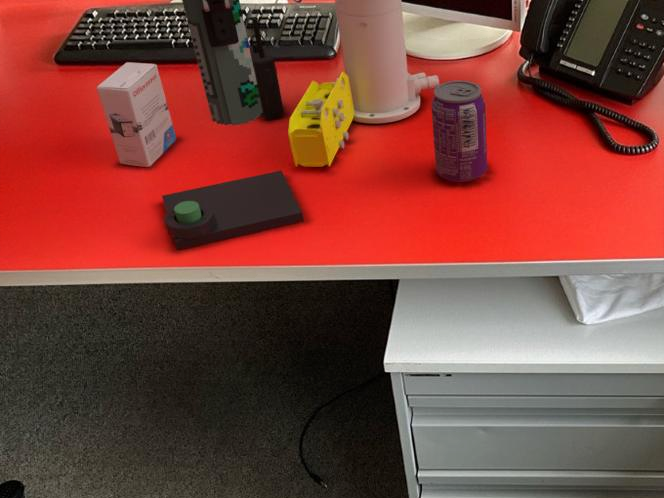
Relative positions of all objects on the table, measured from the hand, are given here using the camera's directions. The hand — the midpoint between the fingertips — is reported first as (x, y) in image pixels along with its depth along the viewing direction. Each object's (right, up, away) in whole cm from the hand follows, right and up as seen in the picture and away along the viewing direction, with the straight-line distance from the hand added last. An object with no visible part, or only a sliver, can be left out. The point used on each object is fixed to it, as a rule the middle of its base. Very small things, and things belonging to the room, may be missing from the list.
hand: (219, 32), depth 103 cm
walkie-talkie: (-3, +1, +35) cm, 36 cm away
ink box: (-18, -7, +27) cm, 33 cm away
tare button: (-6, -20, +8) cm, 22 cm away
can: (0, -8, +7) cm, 10 cm away
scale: (-2, -18, +14) cm, 23 cm away
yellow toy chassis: (+7, -6, +27) cm, 29 cm away
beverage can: (+27, -12, +20) cm, 36 cm away
